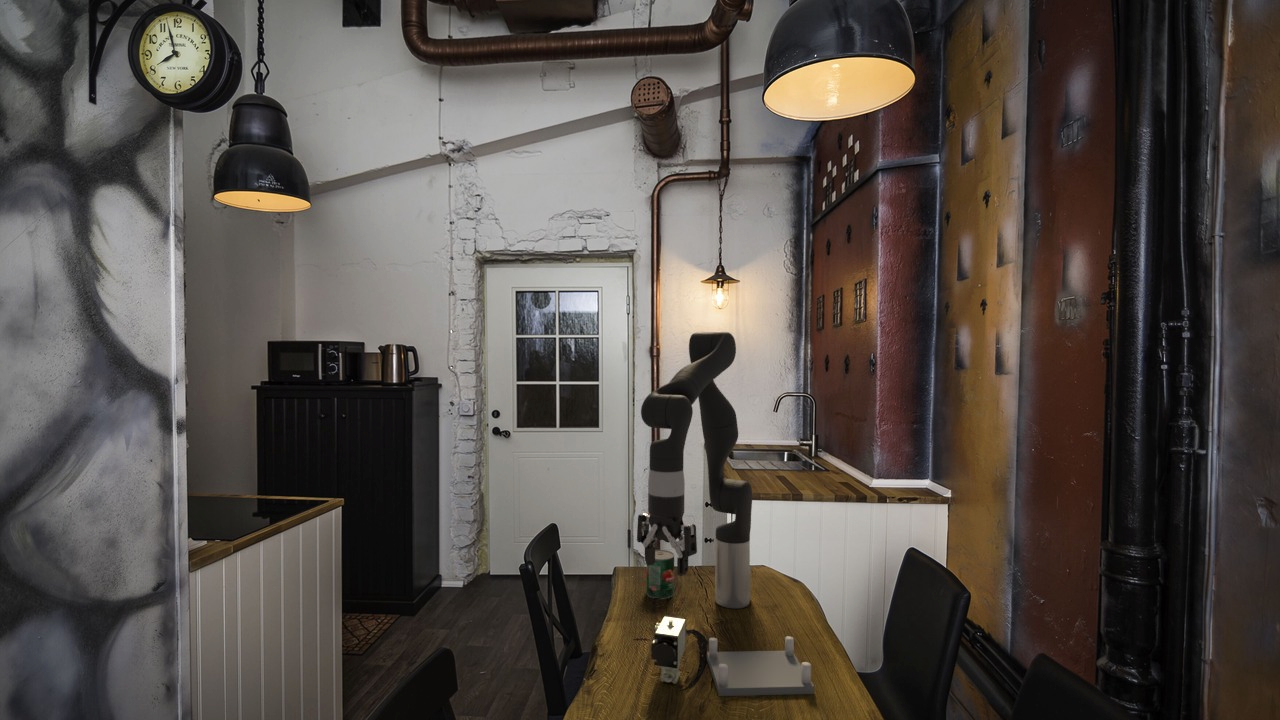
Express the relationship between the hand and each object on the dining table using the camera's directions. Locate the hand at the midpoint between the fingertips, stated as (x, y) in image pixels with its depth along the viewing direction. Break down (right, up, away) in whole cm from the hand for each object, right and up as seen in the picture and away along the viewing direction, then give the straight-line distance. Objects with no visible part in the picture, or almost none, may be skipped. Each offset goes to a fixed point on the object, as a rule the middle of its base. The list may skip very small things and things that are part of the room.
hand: (665, 569), depth 119 cm
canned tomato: (0, -23, +43) cm, 48 cm away
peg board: (+19, -22, +1) cm, 30 cm away
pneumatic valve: (+1, -23, 0) cm, 23 cm away
